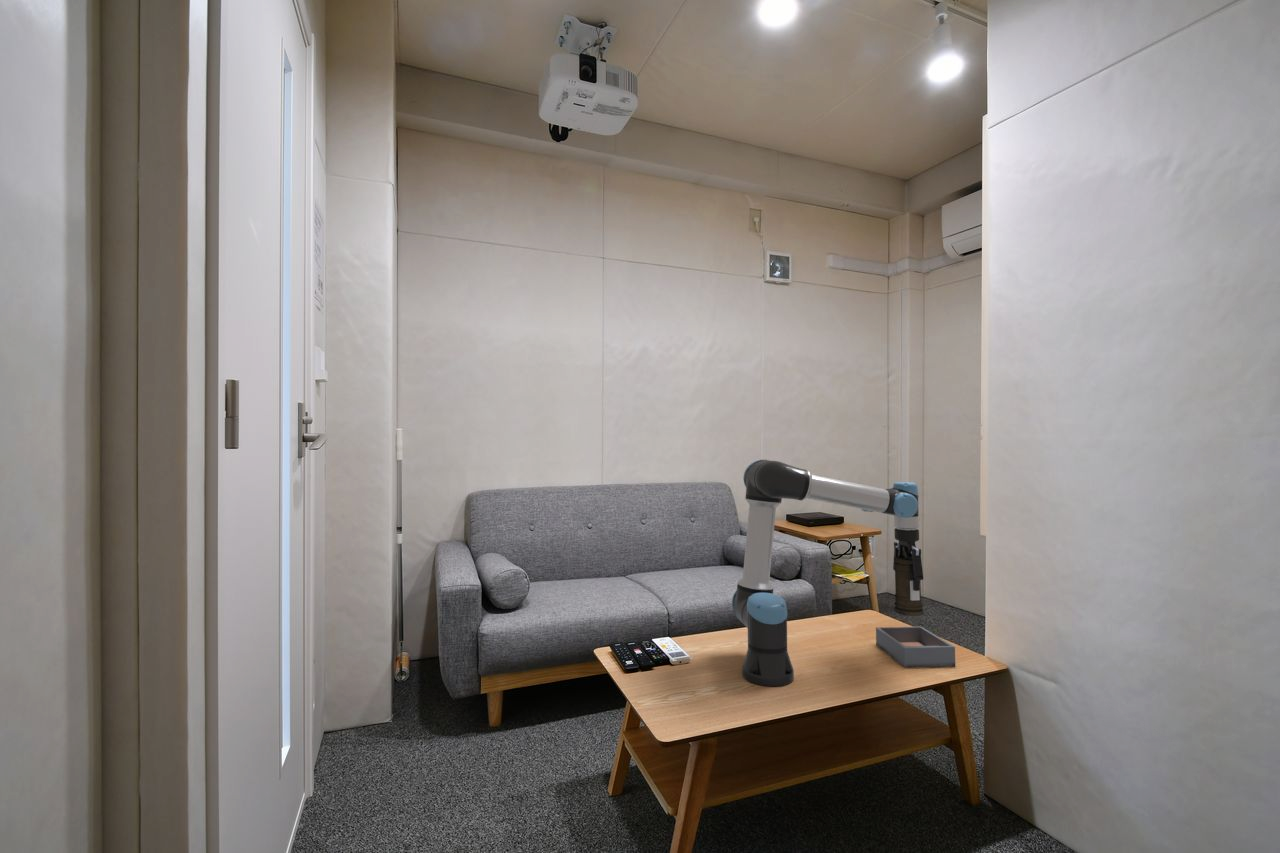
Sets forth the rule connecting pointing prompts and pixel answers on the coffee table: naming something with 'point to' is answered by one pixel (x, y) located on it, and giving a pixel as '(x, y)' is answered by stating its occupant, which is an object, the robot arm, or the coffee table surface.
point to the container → (905, 590)
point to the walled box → (915, 647)
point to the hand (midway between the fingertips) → (908, 596)
